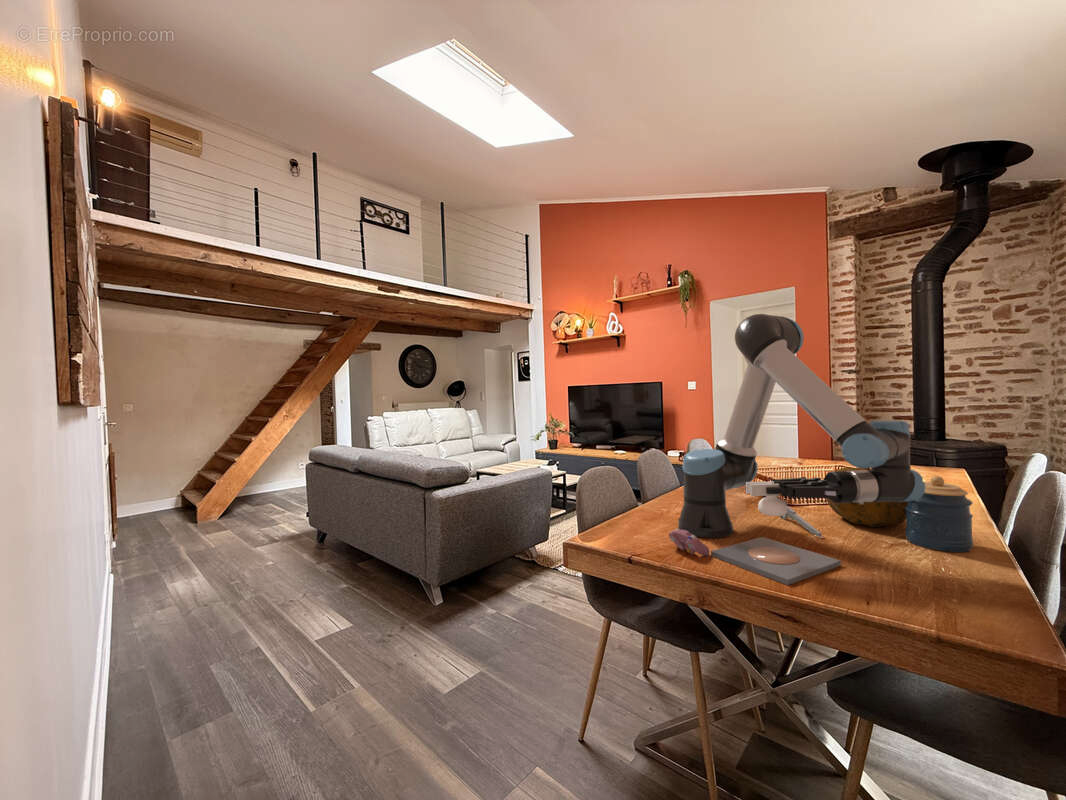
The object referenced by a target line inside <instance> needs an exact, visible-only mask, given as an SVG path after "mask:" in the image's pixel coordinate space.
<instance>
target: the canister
mask: <svg viewBox="0 0 1066 800" xmlns="http://www.w3.org/2000/svg"><path fill="white" fill-rule="evenodd" d="M923 482H924V483H925V492H924V494H923V496H922V497H921V498H920V499H918V500H914V501H908V504H907V506H906V507H905V510H906V520H905V537H906V540H907V541H908V542H909V541H910V542H909V543H911V544H913V545H916V546H919V547H922V548H927V549H931V550H935V551H940V552H941V551H942V552H954V553H964V552H969V551H972V549H973V546H974V542H973V541H974V539H973V518H974V515H973V514H972V513H971V510H970V509H971V508H970V507H971V506H972V505H973V504H974V503H973V500H971V499H969V498H967V495H968V494H969V492H968V491H967V490H964V489H963V488H961V487H960V486H959V485H955V484H951V483H945V480H944V478H943V477H942V476H939V475H936V476H932V477H931V478H930V481H923Z"/></svg>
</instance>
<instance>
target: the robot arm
mask: <svg viewBox="0 0 1066 800" xmlns="http://www.w3.org/2000/svg"><path fill="white" fill-rule="evenodd" d="M801 327H802V326H800V325H799V324H798V322H796V321H795V320H793V319H791V318H789V317H785V316H782V315H781V316H779V315H771V314H766V313H755V314H752V315H749V316H747V317H746V318H744V319H743V320H742V321H740V323H739V324H738V325H737V327H736V329H735V333H734V342H735V343H734V344H735V345H736V348H737V349H738V351H739V352H740V353H741V354H742V355H743V356H744V358H743V359H744V360H745V362H746V363H747V366H746V369H745V373H744V376H743V379H742V381H741V385H740V388H739V391H738V394H737V397H736V400H735V403H734V407H733V410H732V413H731V416H730V419H729V422H728V425H727V428H726V431H725V434H724V437H723V438H721V439H719V440H717V441H716V446H715V448H713V449H712V448H702V449H695V450H691V451H689V452H687V453H685V454H684V455H683V458H682V468H681V469H682V476H683V478H682V479H683V481H682V485H683V505H682V509H681V511H680V517H679V518H678V521H677V522H678V525H677V526H678V530H686V531H688V532H689V533H691V534H692V535H695V537H697V538H711V539H715V538H716V539H718V538H719V539H720V538H725V537H730V536H731V535H732V534H733V532H734V526H733V522H732V520H731V517H730V514H729V511H728V509H727V505H726V504H727V501H726V497H727V496H726V495H727V494H726V491H728V490H732V489H737V488H741V487H744V486H745V494H747V495H750V497H766V496H777V497H778V496H782V497H787V498H788V499H827V498H828V499H830V500H831V501H832V502H834V503H851V502H859V504H862V505H863V504H864V502H905V501H914V500H918V499H920V498H921V497H922V496H923V494H924V492H925V483H924V482H925V481H923V479H924V478H923V476H922V475H921V474H920V473H919V472H918V471H917V470H914V469H912V468H911V437H912V435H911V434H910V433H911V431H910V425H909V423H908V422H907V421H905V420H899V419H898V420H897V419H878V420H877V419H875V420H872V421H870V423H869V422H867V420H866V419H865V418H864V417H862V415H861V414H859V412H858V411H856V410H855V409H854V408H853V407H852V406H850V404H849V403H847V402H846V401H845V400H844V399H843V398H842V397H841V396H840V395H839V394H838V393H837V392H835V391H834V390H833V388H831V387H830V386H829V385H828V384H827V383H826V382H825V381H823V380H822V378H821V377H819V376H818V375H817V374H816V373H815V372H814V371H813V370H812V369H811V368H809V366H807V365H806V364H805V363H804V362H803V361H802V360H801V359H800V358H799V357H797V356H796V354H797V353H798V352H799V351H800V350H801V348H802V347H803V344H804V340H805V339H804V336H805V335H804V331H803V329H802V328H801ZM776 384H777V385H778V386H779V387H780V388H781V389H782V390H784V392H785V393H786V394H787V395H789V396H790V397H791V399H792V400H794V402H795V403H797V404H798V405H799V407H800V408H801V409H802V410H804V411H805V413H807V414H808V415H809V416H810V417H811V419H813V420H814V422H816V423H817V424H818V425H819V426H820V428H822V429H823V430H824V431H825V432H826V433H827V435H829V437H831V438H832V439H833V440H834V441H835V442H836V444H838V445H839V446H840V448H841V454H842V456H843V458H844V460H845V461H846V462H847V463H848V464H849V465H851V466H853V467H854V468H870V469H871V470H857V471H838V470H833V471H831V470H830V471H829V472H827V473H826V474H825V476H824V478H823V479H822V478H821V477H812V478H807V477H805V476H801V477H796V478H795V477H794V478H791V477H790V478H776V479H774V478H772V479H770V482H771V481H774V484H769V481H753V480H754V479H755V477H756V476H757V474H758V467H759V466H758V462H756V457H757V455H758V452H757V450H756V449H755V447H754V446H755V443H756V440H757V438H758V435H759V432H760V429H761V426H762V423H763V420H764V418H765V414H766V413H767V408H768V407H769V406H768V405H769V403H770V400H771V397H772V394H773V392H774V389H775V385H776Z"/></svg>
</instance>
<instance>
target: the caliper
mask: <svg viewBox="0 0 1066 800" xmlns="http://www.w3.org/2000/svg"><path fill="white" fill-rule="evenodd" d="M782 500H783V501H784V502H785V503H786V505H787V508H788V511H787V513H786V514H785V515H783V516H779V518H780V519H782V520H783V519H787V520H788V518H789V519H790V520H791V521H796V522H797V523H798V524H799V525H801V526H802V527H803V528H804V529H806V530H807V531H808V532H809V533H811V534H812V535H813V534H814V535H816V536H818V537H817V538H819V537H820V538H821V537H824V535H823V534H822V532H821V531H819V530H818V529H816V527H814V526H813V525H811V524H810V523H809V522H808V521H807V520H805V519H804V518H803V517H802V516H800V515H799V514H797V511H795V510H794V509H793V508H792V507H791V506H789V505H788V501H786V500H785V499H782ZM814 535H813V536H814ZM816 536H815V537H816ZM820 538H819V539H820Z"/></svg>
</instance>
